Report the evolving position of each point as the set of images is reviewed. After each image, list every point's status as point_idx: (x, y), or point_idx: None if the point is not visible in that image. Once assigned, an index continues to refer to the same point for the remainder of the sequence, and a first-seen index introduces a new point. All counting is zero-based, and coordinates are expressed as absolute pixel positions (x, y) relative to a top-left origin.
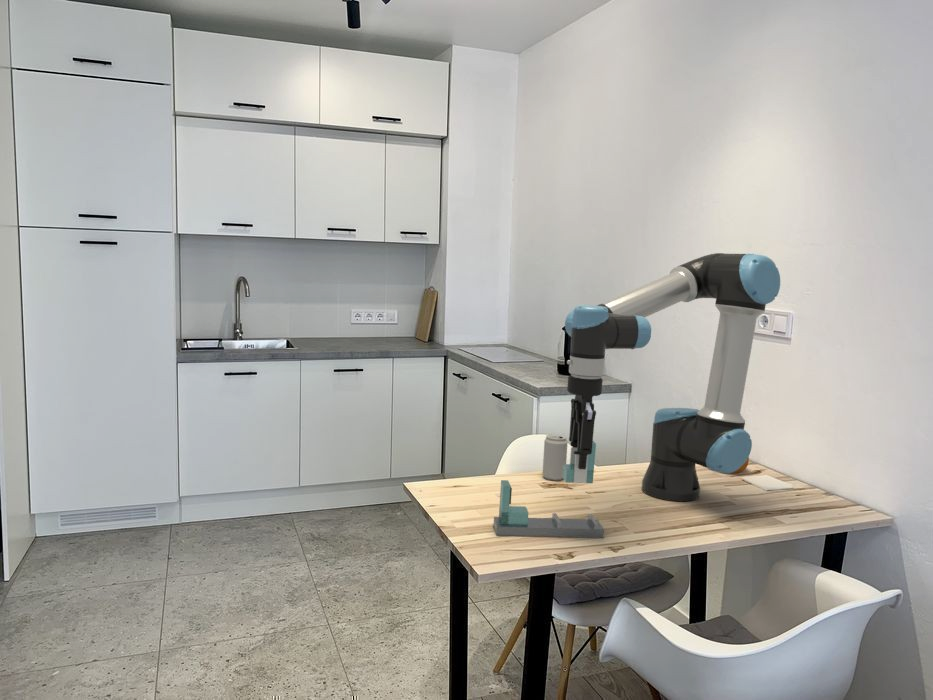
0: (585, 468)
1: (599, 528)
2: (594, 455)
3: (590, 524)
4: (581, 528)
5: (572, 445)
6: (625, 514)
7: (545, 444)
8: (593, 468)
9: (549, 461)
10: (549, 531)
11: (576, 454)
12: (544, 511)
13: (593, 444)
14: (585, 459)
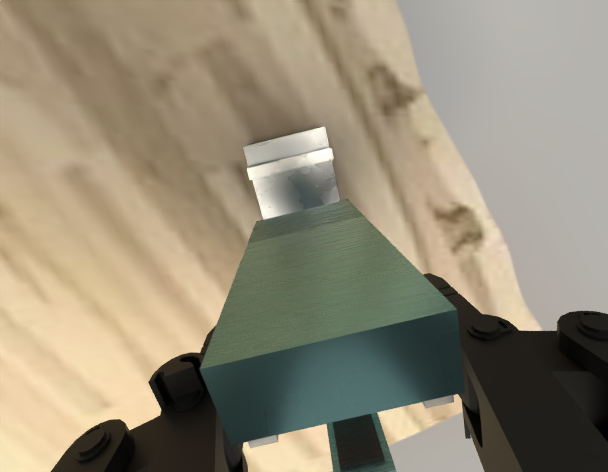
0: (433, 276)
1: (321, 141)
2: (397, 254)
3: (296, 169)
4: (337, 196)
5: (243, 455)
6: (74, 37)
7: None
8: (365, 221)
9: None
10: None
11: (450, 396)
12: (170, 292)
13: (456, 333)
14: (473, 314)
